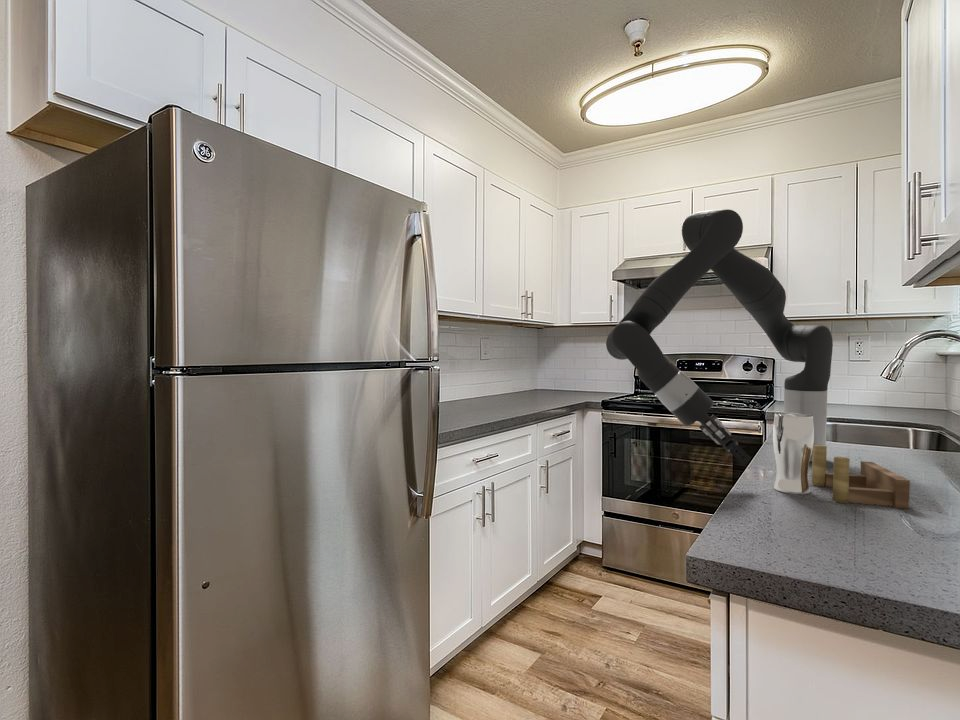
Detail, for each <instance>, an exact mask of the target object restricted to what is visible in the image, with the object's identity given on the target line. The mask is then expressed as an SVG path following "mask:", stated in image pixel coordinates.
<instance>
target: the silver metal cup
mask: <svg viewBox="0 0 960 720" xmlns="http://www.w3.org/2000/svg"><path fill="white" fill-rule="evenodd" d="M773 418H774V419H773V426H772V427H773V429H772V445H773V451H774V457H775V464H776V474H775V476H776V477H775V481H774V483H773V484H774V485H773V489H774V490H776V491H778V492H781V493H784V494H790V495H807V494H810V489H811V488H810V485H809V475H808V474H809V467H810V463H811V462H810V459H811V454H812V449H813V442H814V426H813V415H810V414H803V413H792V412H784V411H783V412H775V413H774V417H773Z"/></svg>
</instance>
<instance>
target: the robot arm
mask: <svg viewBox="0 0 960 720" xmlns="http://www.w3.org/2000/svg"><path fill="white" fill-rule="evenodd" d="M743 224H744V223H743V220H742V218H741V215H740V214H739V213H738V212H737V211H735V210H734V209H729V208H728V209H727V208H717V209H709V210H702V211H696V212H694V213H691V214H689V216H687V217H686V218H685V219H684V221H683V223H682V225H681V226H682V227H681V235H682V240H683V242H684V244H685V246H686V247H687V249H688V250H689V251H690V252H688V253H687V254H686V255H684V257H682V258H681V259H680V260H679V261H677V262H676V263H674V264H673V265H672V266H670V267H668V268H667V269H666V270H664V271H663V272H662V273H660V274H659V275H658V276H656V278H655V279H653V280H652V281H651V282H650V283H649V285H648V286H647V287H646V288H645V289H644V291H642V293H641V294H640V295H639V297H638V298H637V300H635V302H634V304H633V306H632V307H631V308H630V310H629V311H628V312H627V313H626V314H625V316H624V317H622V319H621V320H620V321H619V322H618V323H617V325H615V327H613V329H612V330H611V331H610V332H609V333H608V335H607V337H606V342H605V345H606V350H607V352H608V355H610V356H611V357H612V358H614V359H616V360H623V361H624V360H628V361H629V362H630V364H632V366H633V367H634V368H635V369H636V372H637V376H638V378H639V379H640V381H641V382H642V383H644V385H645V386H646V387H647V388H648V389H649V390H650V391H651V392H652V393H653V394H654V395H655V396H656V398H657V399H658V400H659V401H660V402H661V404H662V405H663V406H664V407H665V408H666V409H667V410H668V411H669V412H670V413H671V414H672V415H673V416H675V419H677V420H678V421H679V422H680V423H681V424H682V425H683V426H684V427H689V426H690V427H691V425H693V424H695V423H696V422H698V423H699V424H701V425H699V427H698V428H699V429H700V430H701V432H703V434H705V435H706V436H708V437H709V438H711V440H712V441H714V443H715V444H716V445H720V446H722V448H723V449H724V450H725V451H726V452H729V453H730V454H731V456H733V457H734V458H735V459H736V460H737V461H738V462H739V463H740V464H741V465H745V464H747V463H748V462H750V461H751V459H752V458H751V456H750V455H749V454H748V453H747V452H746V450H744V449H743V448H742V447H741V446H740V445H739V443H738V441H737V440H736V439H735V438H733V436H732V433H731V432H730V430H729V429H727V428H726V427H725V426H724V424H723V422H722V421H721V419H719V418H718V417H717V416H716V415H715V414H712V415H711V416H710V415H709V414H708V412H709V411H710V410H711V408H712V407H713V406H714V400H712V398H711V397H710V396H709V395H708V394H707V393H706V392H704V390H702V389H701V388H700V386H698V385H697V384H696V382H694V381H693V380H692V379H691V378H690V377H689V376H688V375H686V374H685V373H683V371H681V370H680V369H679V368H678V367H677V365H675V364H674V363H673V361H671V359H669V358H668V357H667V356H666V355H665V354H664V352H663V351H662V350H661V347H659V345H658V343H657V342H656V341H655V339H654V338H653V337H652V335H651V334H652V332H653V331H654V330H655V329H656V328H657V327H659V326H660V325H661V323H663V322H664V321H665V319H666V318H667V317H668V316H669V314H670V313H671V312H672V311H673V310H674V308H675V307H676V305H677V304H678V303H679V302H680V301H681V300H682V298H683V297H684V296H685V295H686V294H687V293H688V291H690V289H692V287H693V286H694V285H696V284H697V282H699V281H700V280H701V278H703V277H704V276H705V275H706V274H707V273H708V272H709V271H710V270H711V271H712V272H713V273H714V274H715V275H716V277H718V279H719V280H720V281H721V282H722V283H723V284H724V285H725V287H726V288H727V289H728V290H729V291H730V292H731V293H732V295H733V296H734V298H736V300H737V301H738V302H739V303H740V304H741V305H742V306H743V308H744V309H745V310H746V311H747V312H748V313H749V314H750V315H751V316H752V318H753V319H754V320H755V321H756V323H757V324H758V325H759V327H760V328H761V329H762V330H763V331H764V333H765V334H766V335H767V337H768V339H769V340H770V342H771V344H772V345H773V347H774V348H775V350H776V351H777V352H778V354H779V355H780V356H781V357H782V358H783V359H784V360H786V361H789V362H791V363H792V362H793V363H805V364H804V368H802V370H801V371H799V373H796V374H794V375H790V376H787V377H786V378H785V379H784V384H783V385H784V386H783V387H784V390H783V391H784V392H783V395H784V396H783V412H792V413H803V414H810V415H813V426H814V442H813V445H823V446H826V447H827V425H828V424H827V421H828V419H827V418H828V417H827V415H828V414H827V413H828V386H829V382H830V378H831V370H832V359H833V346H834V344H833V343H834V341H833V335H832V332H831V330H830V329H829V328H828V327H827V326H825V325H821V324H806V325H805V324H804V325H803V324H802V325H798V324H797V325H795V324H794V323H792V322H791V321H790V320H789V319H788V318H787V317H786V316H785V313H784V312H785V307H786V302H787V295H786V290H785V288H784V287H783V284H782V283H781V282H780V281H779V280H778V278H777V277H776V276H775V275H774V273H773V272H771V270H769V268H767V267H765V265H763V264H761V263H759V262H758V261H756V260H754V259H752V258H751V257H750V256H747V255H746V254H744V253H743V252H740V251H738V249H736V248H735V247H736V246H737V244H738V243H739V242H740V240H741V239H742V235H743V231H744V225H743ZM812 457H813V449H812V454H811V459H810V463H812Z"/></svg>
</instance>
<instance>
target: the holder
mask: <svg viewBox="0 0 960 720" xmlns="http://www.w3.org/2000/svg"><path fill="white" fill-rule="evenodd" d="M827 449H828V447H827V445H826V446H823V445H813V457H812V462H811V466H812V467H811V468H812V469H811V485H812V484H813V485H812V486H814V485H816V486H815V487H820V486H825V487H826V486H830V487H829V488H832V502H834V501H836V502H835V503H838V502H841V503H840V504H848V503H847V502H853V503H852V504H859V503H862V504H863V505H874V504H876V506H888V505H889V506H891V507H893V508H895V509H896V508H897V509H908V510H909V509H910V484H911V483H910V481H911V480H910V479H908V478H906V477H904V476H901V475H899V474H897V473H896V472H894V471H892V470H889V469H888V468H885V467H883V466H881V465H880V464H877V463H875V462H873V461H865V460H864V461H863V460H862V461H860V474H854V473H850V460H851V459H850V457H845V456H833V471H832V472H827ZM862 504H861V505H862Z"/></svg>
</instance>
